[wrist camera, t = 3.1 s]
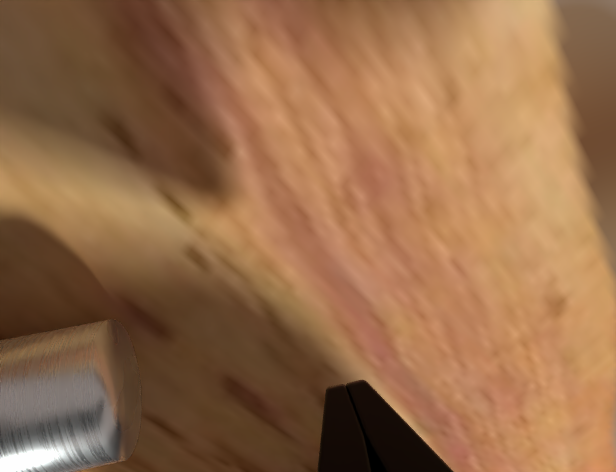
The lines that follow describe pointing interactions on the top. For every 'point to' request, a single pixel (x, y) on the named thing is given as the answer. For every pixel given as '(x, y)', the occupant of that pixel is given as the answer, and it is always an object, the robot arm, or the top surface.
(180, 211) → the top surface
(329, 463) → the robot arm
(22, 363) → the axle
